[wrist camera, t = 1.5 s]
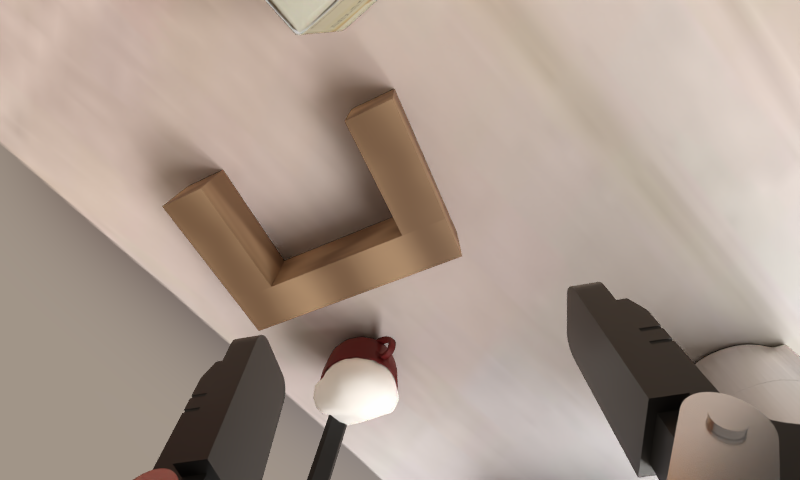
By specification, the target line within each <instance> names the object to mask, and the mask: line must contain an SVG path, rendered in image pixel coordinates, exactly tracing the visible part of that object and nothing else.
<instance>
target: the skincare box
mask: <svg viewBox="0 0 800 480" xmlns="http://www.w3.org/2000/svg"><path fill="white" fill-rule="evenodd" d="M265 1H266V2H267V3H268V4H269V6H270V7H271V8H272V9H273V10H274V11H275V12H276V14H277V15H278V16H279V17H280V18H281V19H282V20H283V21H284V22H285V23H286V24H287V25H288V26H289V28H290V29H291V30H292V31H293V32H294V33H295V34H296V35H304V34H313V33H326V32H336V31H343V30H344V29H346V28H347V27H348V26H349V25H350V24H351V23H352V22H354V21H355V20H356V19H357V18H358V17H359V16H360V15H361V14H363V13H364V12H365V11H366V10H367V9H368V8H369V7H370V6H371V5H372V4H373V3H374V2H375V1H377V0H265Z"/></svg>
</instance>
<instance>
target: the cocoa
mask: <svg viewBox="0 0 800 480" xmlns="http://www.w3.org/2000/svg"><path fill="white" fill-rule="evenodd" d="M385 343H389V345H388V348H387V347H386V346H385V345H384V344H385ZM395 345H396V342H395V340H394V339H392V338H391V337H387V336H385V337H381V338H378V339H376V340H375V339H372V338H366V337H357V338H351V339H348V340H346V341H344V342H343V343H341V344H340V345H338V346H337V347H335V349H334V350H333V352H332V354H331V355H330V357H329V359H328V361H327V363H326V365H325V367H324V369H323V372H322V375H321V379H320V381H319V382H318V383H317V384H316V385H315V390H314V401H315V404H316V408H317V409H318V410H319V411H320V412H321V413H322V414H327V415H329V417H328V420H327V423H326V426H325V429H324V432H323V435H322V438H321V441H320V443H319V446H318V449H317V452H316V455H315V458H314V461H313V464H312V467H311V470H310V473H309V476H308V479H307V480H330V479H331V475H332V472H333V469H334V466H335V462H336V459H337V456H338V453H339V449H340V446H341V443H342V440H343V436H344V433H345V430H346V426H347V425H352V424H357V423H360V422H363V421H368V420H371V419H373V418H376V417H379V416H382V415H385V414H388V413H391V412H392V411H393V410H394V409H395V408H396V405H397V403H398V400H399V395H398V384H397V368H396V364H395V361H394V358H393V356H392V354H393V352H394V350H395Z"/></svg>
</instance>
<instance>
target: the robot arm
mask: <svg viewBox="0 0 800 480" xmlns="http://www.w3.org/2000/svg"><path fill="white" fill-rule="evenodd" d="M567 337H568V343H569V347H570V350H571V353H572V355H573V357H574V359H575V361H576V363H577V365H578V367H579V369H580V371H581V372H582V374H583V376H584V378H585V380H586V382H587V384H588V385H589V387H590V389H591V391H592V393H593V395H594V397H595V398H596V400H597V402H598V404H599V406H600V408H601V410H602V411H603V413H604V415H605V417H606V419H607V421H608V423H609V424H610V426H611V428H612V430H613V432H614V434H615V435H616V437H617V439H618V441H619V443H620V445H621V447H622V448H623V450H624V452H625V454H626V456H627V458H628V460H629V461H630V463H631V465H632V467H633V469H634V471H635V473H636V474H637V476H638V477H645V476H653V475H657V477H658V479H659V480H800V356H799V355H797V354H796V353H795V352H794V351H793V350H792V349H791V348H789V347H788V346H787V345H781V346H777V347H766V346H761V345H739V346H733V347H729V348H725V349H722V350H719V351H717V352H715V353H712V354H710V355H708V356H706V357H705V358H703V359H701V360H700V361H698V362H697V363H696V364H694V363H693V362H692V361H691V359H690V358H689V357H688V356H687V355H686V354H685V353H684V352H683V350H682V349H681V348H680V347H679V346H678V345H677V344H676V342H675V341H672V338H671V337H670V336H669V334H668V333H667V332H666V331H665V330H664V329H663V328H661V327H660V324H659V323H658V322H657V321H656V320H655V318H654V317H653V316H652V315H651V314H650V313H649V312H648V311H647V310H646V309H644V308H643V307H641V306H639V305H638V304H636V303H634V302H632V301H631V300H629V299H627V298H626V299H620V300H616V299H615V298H614V297H613V296H612V294H611V293H610V292H609V291H608V289H607V288H606V287H605V286H604V285H603V284H602V283H601V282H596V283H589V284H583V285H577V286H571V287H569V288H568V292H567ZM284 398H285V382H284V377H283V374H282V372H281V370H280V367H279V365H278V363H277V360H276V358H275V356H274V353H273V351H272V349H271V346H270V344H269V342H268V340H267V338H266V337H265V336H264V335H259V336H253V337H246V338H240V339H235V340H233V342H232V343H231V345H230V347H229V349H228V351H227V353H226V355H225V357H224V359H223V361H218V362H216V363H215V364H214V365H213V366H212V367H211V368H210V369H209V370H208V371H207V372H206V373H205V374H204V375H203V377H202V378H201V379H200V381H199V383H198V385H197V387H196V388H195V390H194V392H193V394H192V398H191V399H190V400H189V402H188V404H187V405H186V407H185V409H184V410H185V412H184V413H182V415H181V417H180V419H179V421H178V423H177V425H176V426H175V428H174V430H173V432H172V434H171V436H170V438H169V440H168V442H167V443H166V445H165V447H164V449H163V451H162V453H161V455H160V457H159V459H158V461H157V463H156V464H155V466H154V468H153V470H151V471H148V472H146V473H144V474H142V475H140V476H138V477H137V478H135V479H134V480H262V478H263V475H264V471H265V467H266V464H267V460H268V457H269V453H270V449H271V446H272V442H273V438H274V434H275V431H276V428H277V424H278V421H279V417H280V412H281V410H282V406H283V403H284Z"/></svg>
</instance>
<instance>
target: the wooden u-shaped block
mask: <svg viewBox="0 0 800 480" xmlns="http://www.w3.org/2000/svg"><path fill="white" fill-rule="evenodd" d="M345 123H346V125H347V127H348V129H349V131H350V133H351V135H352V137H353V139H354V141H355V143H356V145H357V147H358V149H359V151H360V153H361V155H362V157H363V159H364V161H365V163H366V165H367V167H368V169H369V171H370V173H371V175H372V177H373V179H374V180H375V182H376V184H377V186H378V188H379V190H380V192H381V194H382V196H383V198H384V200H385V202H386V204H387V206H388V208H389V210H390V212H391V214H392V216H393V217H392V218H389V219H387V220H385V221H382V222H380V223H377V224H375V225H372V226H370V227H367V228H365V229H362V230H360V231H357V232H355V233H352V234H350V235H347V236H345V237H342V238H340V239H337V240H335V241H332V242H330V243H327V244H325V245H323V246H320V247H318V248H315V249H313V250H310V251H308V252H305V253H303V254H300V255H298V256H295V257H293V258H290V259H288V260H285V261H284V260H283V258H282V257H281V255H280V254H279V252H278V251H277V249H276V248H275V246H274V245H273V243H272V242H271V240H270V239H269V237H268V236H267V234H266V233H265V231H264V230H263V228H262V227H261V226H260V224H259V223H258V221H257V220H256V218H255V217H254V215H253V214H252V212H251V211H250V209H249V208H248V206H247V205H246V203H245V202H244V200H243V199H242V197H241V196H240V194H239V193H238V191H237V190H236V188H235V187H234V185H233V184H232V182H231V181H230V179H229V178H228V176H227V175H226V173H225V172H224V170H222V171H219V172H217V173H215V174H213V175H211V176H209V177H207V178H205V179H202V180H200V181H198V182H196V183H194V184H192V185H190V186H188V187H186V188H185V189H184V190H183V191H181V192H180V193H179V194H178V195H176V196H175V197H174V198H172V199H171V200H170V201H169V202H167V203H166V204H165V205H164V206H162V207H163V208H164V209H165V210H166V212H167V213H168V214H169V216H170V217H171V218H172V220H173V221H174V222H175V223H176V225H177V226H178V227H179V229H180V230H181V231H182V232H183V234H184V235H185V236H186V238H187V239H188V240H189V241H190V243H191V244H192V245H193V247H194V248H195V249H196V250H197V252H198V253H199V254H200V256H201V257H202V258H203V259H204V261H205V262H206V263H207V265H208V266H209V267H210V269H211V270H212V271H213V272H214V274H215V275H216V276H217V278H218V279H219V280H220V281H221V283H222V284H223V285H224V287H225V288H226V289H227V290H228V292H229V293H230V294H231V296H232V297H233V298H234V299H235V301H236V302H237V303H238V305H239V306H240V307H241V308H242V310H243V311H244V312H245V314H246V315H247V316H248V318H249V319H250V320H251V321H252V323H253V324H254V325H255V327H256V328H257V329H258V330H259V331H260V330H263V329H266V328H268V327H271V326H274V325H276V324H279V323H282V322H285V321H287V320H290V319H293V318H295V317H298V316H301V315H304V314H306V313H309V312H312V311H314V310H317V309H320V308H323V307H325V306H328V305H331V304H334V303H336V302H339V301H342V300H344V299H347V298H350V297H353V296H355V295H358V294H361V293H363V292H366V291H369V290H372V289H374V288H377V287H380V286H382V285H385V284H388V283H391V282H393V281H396V280H399V279H401V278H404V277H407V276H410V275H412V274H415V273H418V272H420V271H423V270H426V269H429V268H431V267H434V266H437V265H439V264H442V263H445V262H448V261H450V260H453V259H456V258H458V257H461V256H462V254H461V249H460V245H459V240H458V236H457V232H456V229H455V227H454V225H453V223H452V220H451V218H450V216H449V213H448V211H447V209H446V206H445V204H444V202H443V199H442V197H441V195H440V193H439V190H438V188H437V186H436V183H435V181H434V179H433V176H432V174H431V172H430V170H429V167H428V165H427V163H426V160H425V158H424V156H423V153H422V151H421V149H420V146H419V144H418V142H417V140H416V137H415V135H414V133H413V130H412V128H411V126H410V123H409V121H408V119H407V117H406V114H405V112H404V110H403V107H402V105H401V103H400V100H399V98H398V96H397V93H396V91H395V89H393V90H391V91H389V92H387V93H385V94H382V95H380V96H378V97H376V98H374V99H372V100H370V101H368V102H365V103H363V104H361V105H359V106H357V107H355V108H353V109H352V110H351V111H350V113H349V115H348V116H347V118H346V120H345Z"/></svg>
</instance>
